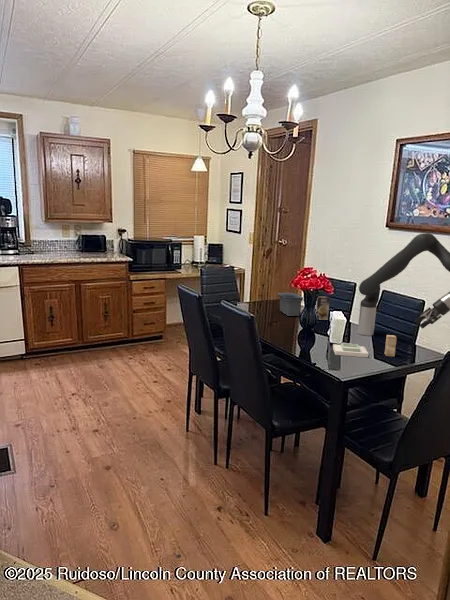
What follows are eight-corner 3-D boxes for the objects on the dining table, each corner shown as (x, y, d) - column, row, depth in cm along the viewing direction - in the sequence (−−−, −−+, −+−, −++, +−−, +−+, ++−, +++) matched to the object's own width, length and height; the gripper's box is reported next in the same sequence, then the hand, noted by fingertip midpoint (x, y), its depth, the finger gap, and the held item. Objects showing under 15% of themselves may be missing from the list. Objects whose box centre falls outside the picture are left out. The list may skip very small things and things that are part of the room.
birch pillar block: (384, 353, 219) (386, 335, 217) (392, 354, 218) (394, 335, 217) (386, 355, 215) (388, 337, 213) (394, 356, 215) (396, 337, 213)
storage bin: (275, 311, 310) (276, 292, 307) (295, 311, 313) (296, 292, 310) (285, 318, 289) (286, 298, 287) (306, 318, 293) (307, 297, 290)
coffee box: (316, 321, 285) (318, 297, 282) (311, 318, 291) (313, 295, 288) (328, 320, 287) (330, 297, 284) (323, 318, 293) (325, 295, 290)
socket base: (332, 347, 225) (333, 341, 225) (363, 350, 223) (364, 343, 223) (335, 354, 214) (335, 348, 213) (367, 357, 212) (368, 350, 211)
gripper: (435, 296, 215) (409, 316, 219) (445, 301, 201) (417, 322, 205) (445, 306, 215) (418, 327, 219) (456, 312, 201) (427, 334, 205)
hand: (418, 325), depth 212 cm, fingers open, 8 cm apart
